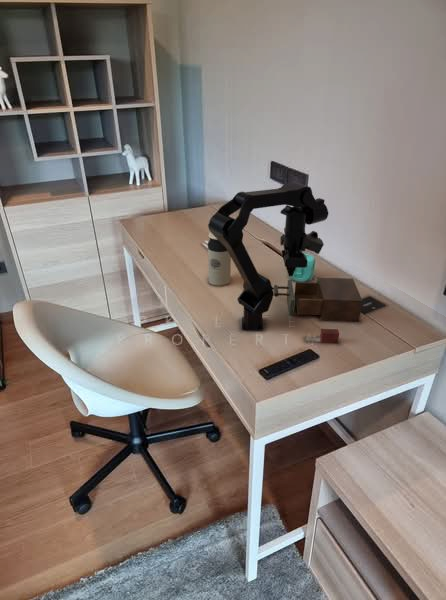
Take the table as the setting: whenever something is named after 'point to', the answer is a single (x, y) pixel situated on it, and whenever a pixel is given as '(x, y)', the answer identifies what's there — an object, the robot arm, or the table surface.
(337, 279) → the cabinet
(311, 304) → the drawer
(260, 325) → the robot arm
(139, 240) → the table surface
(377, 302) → the solid state drive
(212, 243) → the travel mug
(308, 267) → the decorative dice
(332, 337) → the red usb flash drive
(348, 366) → the table surface
